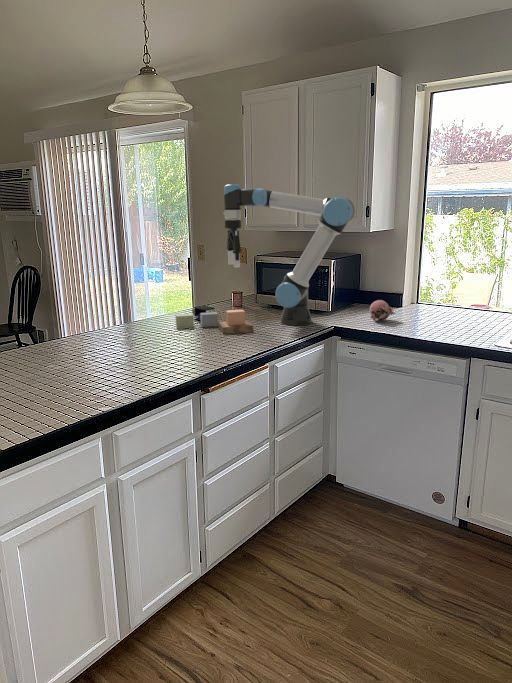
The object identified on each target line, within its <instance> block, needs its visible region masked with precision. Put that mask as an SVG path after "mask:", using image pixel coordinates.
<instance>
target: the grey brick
mask: <svg viewBox="0 0 512 683" xmlns="http://www.w3.org/2000/svg"><path fill="white" fill-rule="evenodd" d="M207 312H208V311H207ZM207 312H206V313H200V319H199V320H200V326H201V327H202V328H206V327H218V322H219V313H218V312H216V311H212V312H208V313H207Z"/></svg>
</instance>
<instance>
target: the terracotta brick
mask: <svg viewBox="0 0 512 683" xmlns="http://www.w3.org/2000/svg"><path fill="white" fill-rule="evenodd" d="M245 320H246V311H245V310H244V309H243V308H241V309H231V310H230V309H229V310H225V322H226V323H227V325H241V324H245Z"/></svg>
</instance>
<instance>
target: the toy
mask: <svg viewBox="0 0 512 683" xmlns="http://www.w3.org/2000/svg"><path fill="white" fill-rule="evenodd" d="M368 310H369V314H370V316H369V317H370V318H371V319H372V320H373V321H374V322H375V323H377V322H376V320H378V321H380V322H381V321H384V320H385V321H386V320H387V319H388V318H389V316H390V315H391V316H393V315H396V313H395V312H394V311H395V310H394V309H393V308H392V307H391V306H390V305H389V303H387V302H386V301H384V300H383V299H377V300H375V301H373V302H372V303H371V304H370V306H369V309H368Z"/></svg>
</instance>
